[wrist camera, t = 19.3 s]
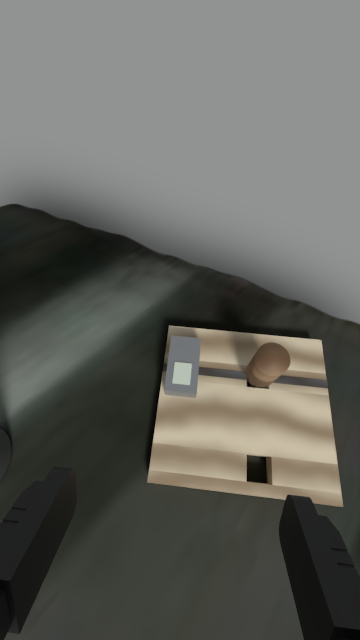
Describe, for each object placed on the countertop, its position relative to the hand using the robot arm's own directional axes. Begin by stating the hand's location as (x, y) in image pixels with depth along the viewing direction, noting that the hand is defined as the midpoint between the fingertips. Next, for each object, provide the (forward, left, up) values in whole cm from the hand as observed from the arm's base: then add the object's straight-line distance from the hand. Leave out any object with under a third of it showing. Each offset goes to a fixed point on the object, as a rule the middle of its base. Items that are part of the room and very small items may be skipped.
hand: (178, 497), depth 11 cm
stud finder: (+14, +1, -28) cm, 31 cm away
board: (+10, -8, -31) cm, 33 cm away
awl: (+13, -10, -31) cm, 35 cm away
